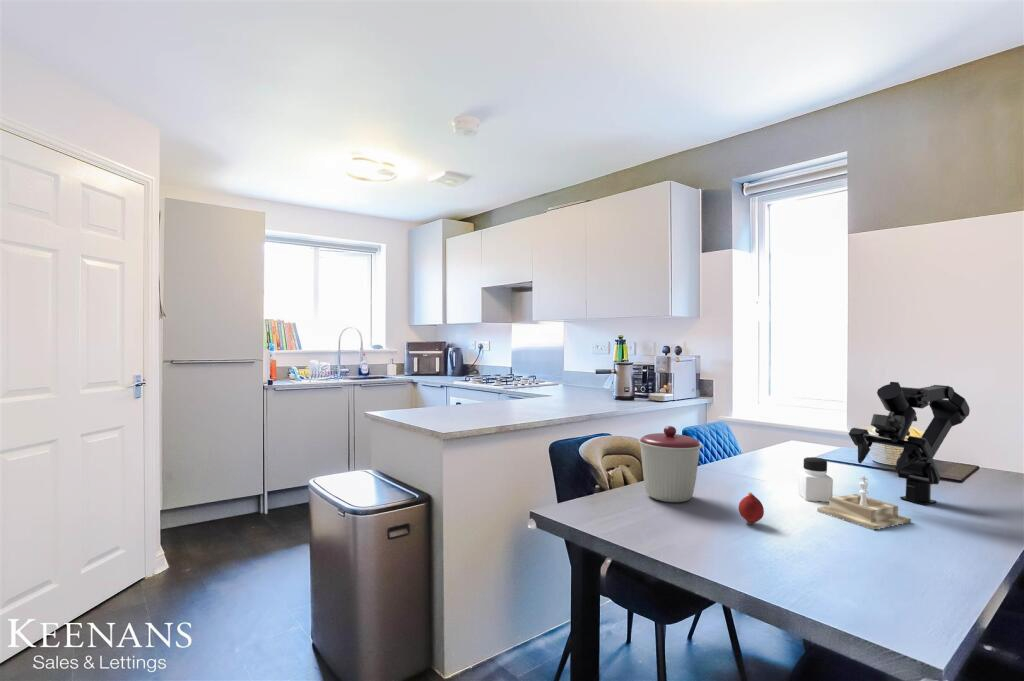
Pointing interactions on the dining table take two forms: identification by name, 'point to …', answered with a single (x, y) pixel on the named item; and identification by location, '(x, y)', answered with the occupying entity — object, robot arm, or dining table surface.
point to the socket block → (864, 511)
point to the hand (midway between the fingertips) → (877, 466)
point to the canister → (669, 465)
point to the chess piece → (863, 491)
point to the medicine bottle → (815, 480)
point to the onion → (751, 508)
